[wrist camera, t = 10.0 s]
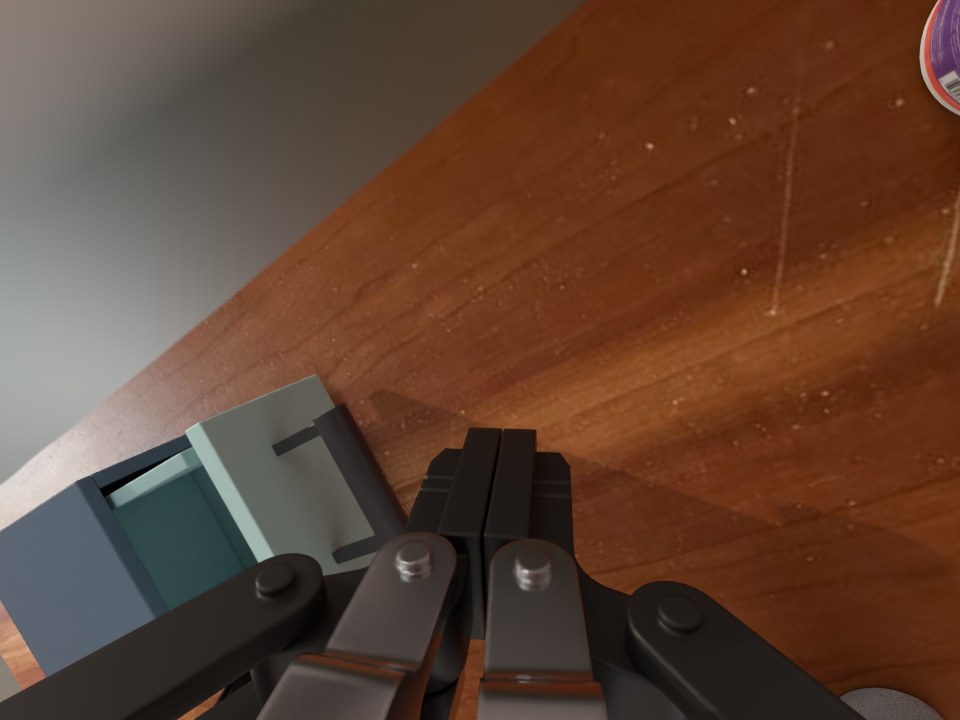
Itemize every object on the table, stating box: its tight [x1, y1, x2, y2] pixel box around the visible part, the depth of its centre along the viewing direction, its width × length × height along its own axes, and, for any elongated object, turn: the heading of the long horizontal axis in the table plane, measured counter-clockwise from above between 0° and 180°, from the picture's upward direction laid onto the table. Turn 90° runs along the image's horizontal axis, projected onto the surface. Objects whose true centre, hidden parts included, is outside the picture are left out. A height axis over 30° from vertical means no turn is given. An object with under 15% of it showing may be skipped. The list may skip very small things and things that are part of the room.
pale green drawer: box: [104, 374, 408, 610], centre depth 28 cm, size 18×11×8 cm, turn 120°
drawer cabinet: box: [0, 434, 193, 677], centre depth 33 cm, size 15×13×10 cm
